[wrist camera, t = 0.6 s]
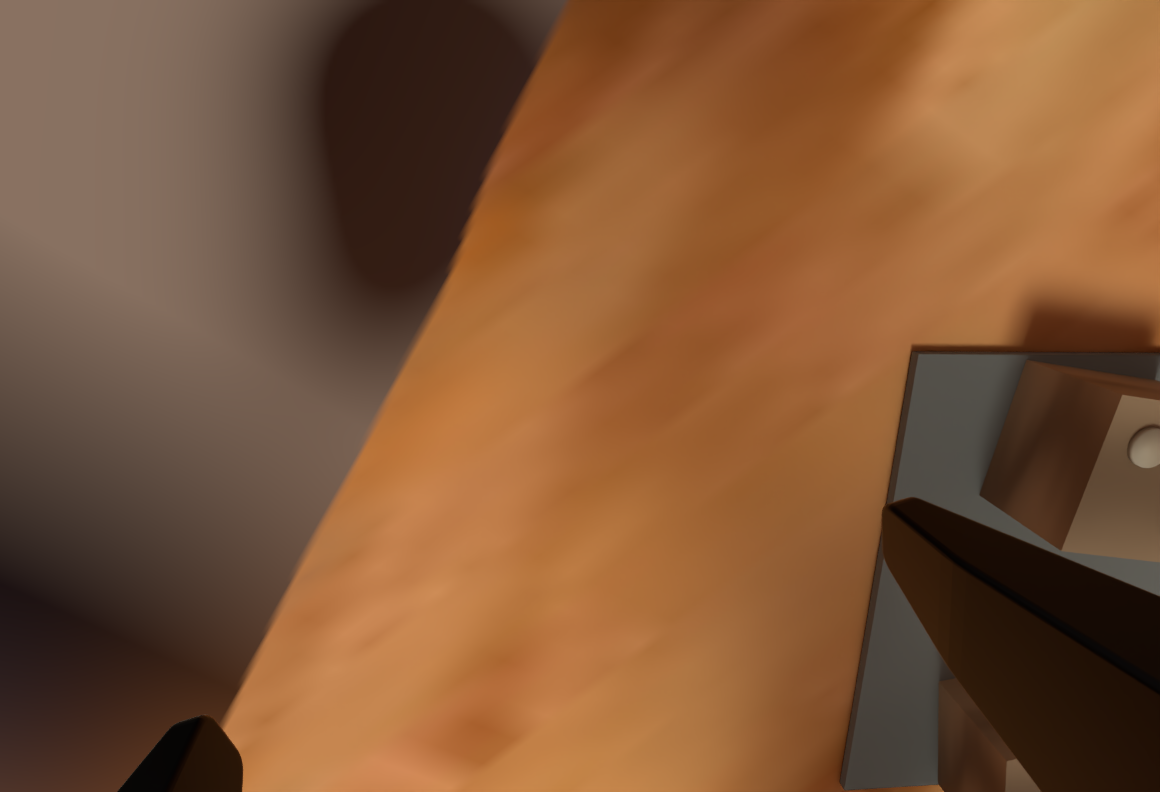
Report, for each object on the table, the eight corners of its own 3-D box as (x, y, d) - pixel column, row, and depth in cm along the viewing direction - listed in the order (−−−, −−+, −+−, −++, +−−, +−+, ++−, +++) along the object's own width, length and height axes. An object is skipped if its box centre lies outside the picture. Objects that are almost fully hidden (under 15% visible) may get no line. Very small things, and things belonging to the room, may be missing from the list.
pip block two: (1102, 510, 27) (1208, 570, 23) (979, 495, 26) (1065, 554, 22) (1155, 380, 25) (1277, 419, 21) (1026, 359, 25) (1128, 397, 21)
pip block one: (1054, 758, 30) (1138, 848, 26) (937, 782, 30) (1005, 877, 26) (1061, 657, 29) (1152, 736, 25) (938, 681, 28) (1010, 765, 24)
